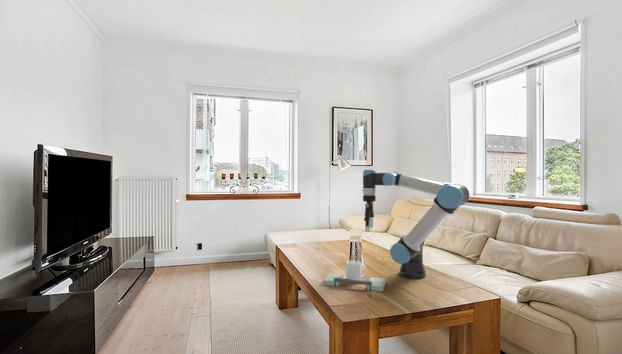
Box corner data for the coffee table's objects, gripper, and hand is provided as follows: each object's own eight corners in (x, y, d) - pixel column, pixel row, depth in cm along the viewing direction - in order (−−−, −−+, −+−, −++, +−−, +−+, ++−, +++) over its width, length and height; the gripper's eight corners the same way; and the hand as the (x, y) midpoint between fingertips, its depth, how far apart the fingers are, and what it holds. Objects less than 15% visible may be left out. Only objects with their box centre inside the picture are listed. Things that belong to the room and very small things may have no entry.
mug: (369, 282, 180) (369, 263, 180) (349, 284, 178) (349, 265, 178) (363, 277, 189) (363, 259, 189) (344, 279, 186) (344, 260, 186)
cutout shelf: (385, 283, 179) (385, 275, 179) (382, 291, 167) (382, 283, 167) (329, 277, 190) (329, 270, 190) (323, 284, 177) (323, 277, 177)
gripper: (366, 193, 209) (366, 225, 210) (359, 196, 185) (359, 233, 186) (378, 193, 207) (378, 226, 207) (372, 196, 183) (372, 233, 183)
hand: (369, 229), depth 197 cm, fingers open, 13 cm apart
